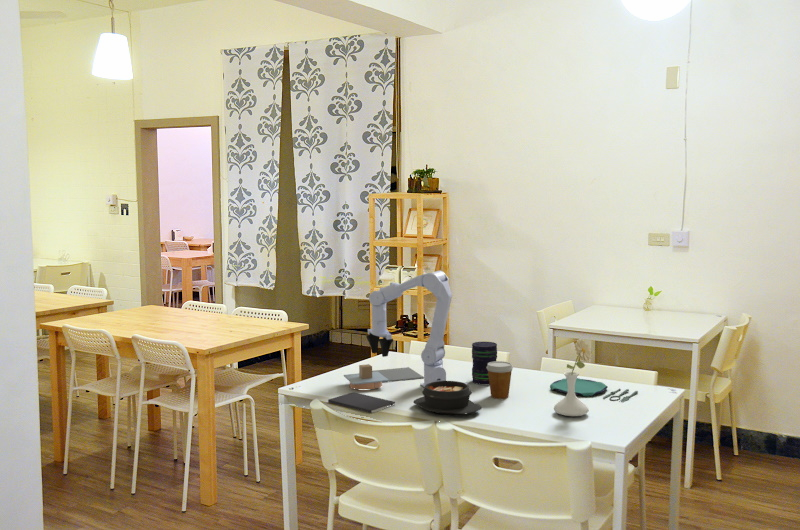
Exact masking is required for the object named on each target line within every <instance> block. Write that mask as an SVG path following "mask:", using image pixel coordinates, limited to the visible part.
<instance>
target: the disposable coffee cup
mask: <svg viewBox="0 0 800 530" xmlns="http://www.w3.org/2000/svg"><path fill="white" fill-rule="evenodd" d="M486 368H487V370H488V376H489V384H490V385H489V391H490V396H491V398H493V399H500V400H501V399H503V400H504V399H507V398H509V394H510V387H511V380H512V371H513V369H514V366H513V364H512V363H511V362H509V361H504V360H503V361H502V360H501V361H500V360H499V361H498V360H496V361H494V362H489V363H488V365H487V367H486Z"/></svg>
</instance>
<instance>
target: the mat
mask: <svg viewBox="0 0 800 530" xmlns="http://www.w3.org/2000/svg"><path fill="white" fill-rule="evenodd" d="M372 372H379V373H380V374H382V375H383V376H384V377H386V378H387V379H388V380H389V381H392V382H400V381H399V380H402V381H411V380H410V379H412V380H420V379H421V378H422V379H424V376H423V375H422V374H420V373H418V372H417V371H416V370H414V369H412V368H410V367H409V366H407V367H399V368H387V369H376V370H372ZM384 383H388V382H387V381H385V382H384Z"/></svg>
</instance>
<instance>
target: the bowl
mask: <svg viewBox="0 0 800 530" xmlns="http://www.w3.org/2000/svg"><path fill="white" fill-rule="evenodd" d="M381 386H383V382H375V383H366V384H356V385H353V384H352V383H351V382H350V381H349V387H350V388H351V387H352V388H355V389H375V388H378V389H380V388H379V387H381ZM352 388H351V389H352ZM381 388H382V387H381ZM355 389H354V390H355ZM375 390H376V389H375Z"/></svg>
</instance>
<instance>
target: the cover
mask: <svg viewBox="0 0 800 530" xmlns="http://www.w3.org/2000/svg"><path fill="white" fill-rule="evenodd" d="M358 367H359V368H358V371H359V372H358V373H350V374H349V373H348V374H343V377H344V378H345V379H346V380H347V381H348V382H349V383H350V382H351V383H352V384H353V385H356V384H366V383H375V382H382V383H386V382H385V381H389V380H388V379H387V378H386V377H384V376H383V375H382V374H380V373H379V372H372V371H373V366H372V365H370V364H369V363H368V364H359V365H358Z"/></svg>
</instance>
